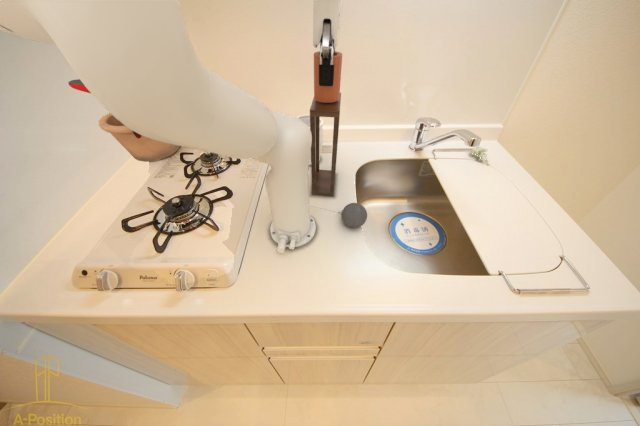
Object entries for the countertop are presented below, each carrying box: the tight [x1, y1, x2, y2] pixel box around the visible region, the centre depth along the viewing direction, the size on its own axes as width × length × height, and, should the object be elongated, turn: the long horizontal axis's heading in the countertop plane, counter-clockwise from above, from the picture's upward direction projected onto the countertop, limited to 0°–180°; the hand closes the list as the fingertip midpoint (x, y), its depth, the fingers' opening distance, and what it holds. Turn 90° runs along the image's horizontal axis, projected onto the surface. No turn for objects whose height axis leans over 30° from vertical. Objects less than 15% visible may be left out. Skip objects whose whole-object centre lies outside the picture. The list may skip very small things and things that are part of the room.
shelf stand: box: [309, 92, 342, 197], centre depth 64 cm, size 12×7×27 cm, turn 174°
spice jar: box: [313, 50, 343, 103], centre depth 50 cm, size 6×6×9 cm
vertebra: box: [470, 145, 489, 162], centre depth 83 cm, size 6×7×4 cm
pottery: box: [98, 112, 180, 163], centre depth 82 cm, size 22×22×14 cm
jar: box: [296, 114, 324, 166], centre depth 78 cm, size 11×10×15 cm
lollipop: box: [311, 202, 368, 229], centre depth 62 cm, size 10×20×7 cm, turn 85°
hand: (327, 79), depth 51 cm, fingers closed on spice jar, 6 cm apart
